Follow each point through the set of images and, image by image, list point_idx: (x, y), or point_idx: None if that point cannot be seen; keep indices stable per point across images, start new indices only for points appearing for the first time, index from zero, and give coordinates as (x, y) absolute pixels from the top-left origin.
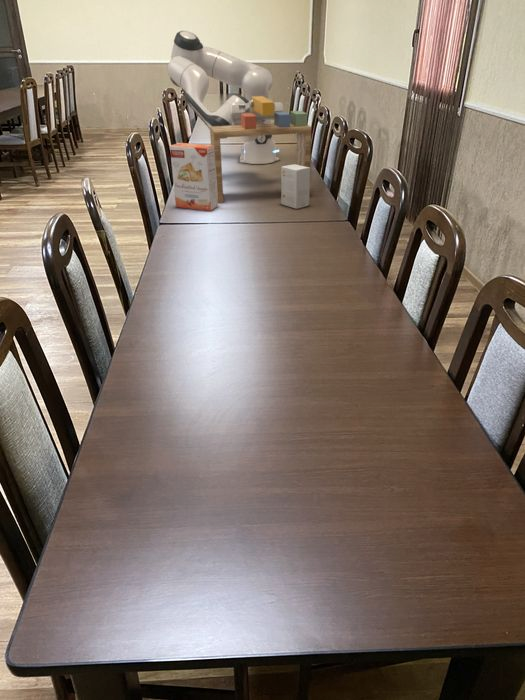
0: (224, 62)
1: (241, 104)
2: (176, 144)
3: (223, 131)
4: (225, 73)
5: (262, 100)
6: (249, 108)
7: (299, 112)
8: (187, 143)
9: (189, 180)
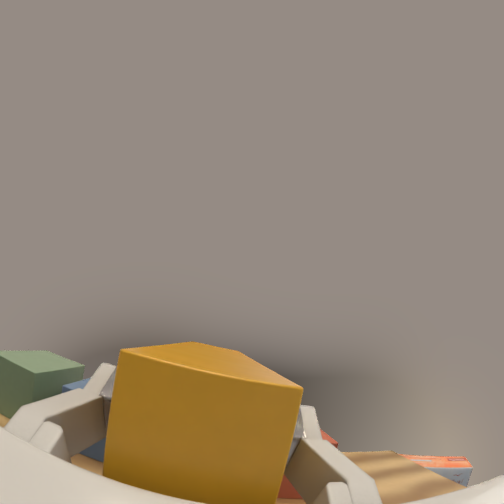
0: None
1: (435, 497)
2: (458, 459)
3: (363, 452)
4: None
5: (226, 351)
6: (301, 495)
7: (40, 358)
8: (443, 466)
9: None
